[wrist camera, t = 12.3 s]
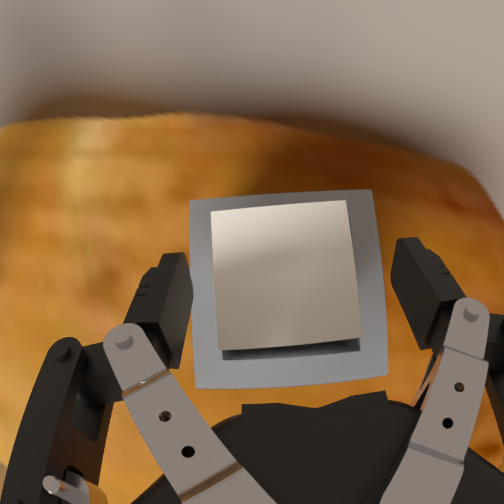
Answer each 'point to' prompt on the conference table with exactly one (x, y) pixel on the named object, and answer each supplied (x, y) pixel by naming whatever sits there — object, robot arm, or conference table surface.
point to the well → (296, 356)
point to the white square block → (284, 275)
